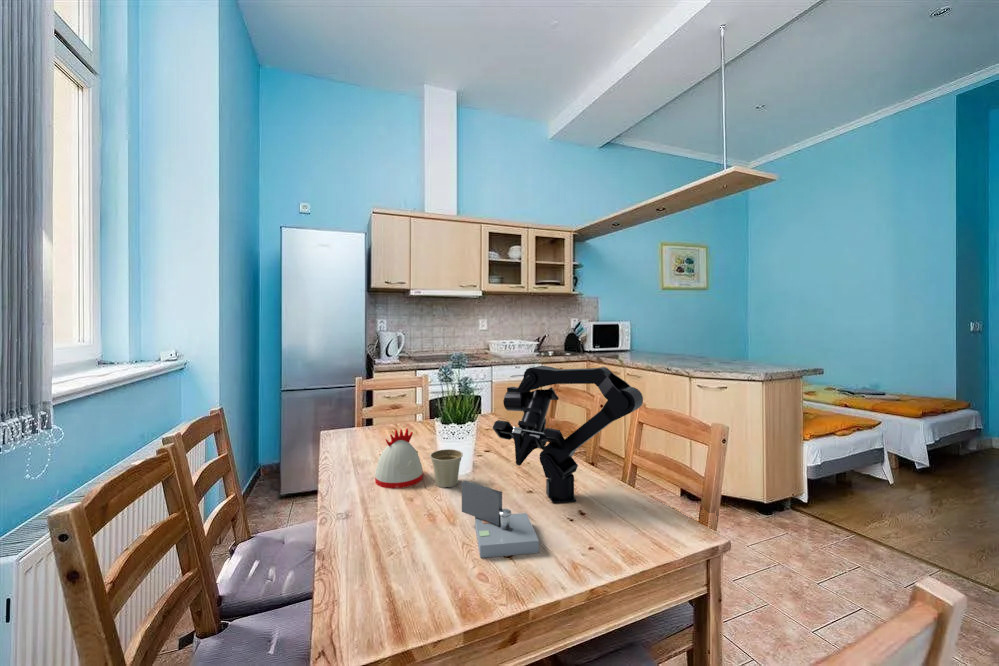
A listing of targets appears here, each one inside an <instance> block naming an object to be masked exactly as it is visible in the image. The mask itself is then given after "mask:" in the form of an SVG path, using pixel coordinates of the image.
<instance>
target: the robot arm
mask: <svg viewBox="0 0 999 666" xmlns="http://www.w3.org/2000/svg"><path fill="white" fill-rule="evenodd" d="M574 384H575V385H581V384H582V385H587V384H589V385H592V384H593V385H595V386H596V387H597V388H598V389H599V391H600V392H601V394H602V395H603V397H604V398H605V399H606V400H607V401H606V402H605V403H604V405H603V406H602V408H601V410H600V411H598V412H597V413H596V414H594V415H593V416H592V417H591V418H590V419H588V420H587V421H585V423H583V424H582V425H580V427H578V428H577V429H576V430H574V431H573V432H572V433H570V435H568V436H567V437H566V438H565V437H564V436H563V434H562V431H561V430H560V429H556V428H549V427H546V425H547V419H546V415H547V413H548V410H549V406H550V403H551V402H552V400H553V401H554V400H555V401H558V400H559V396H558V394H556V391H555V390H554V388H553V387H550V388H547V389H546V388H545V389H541V388H544V387H548V386H553V385H574ZM539 388H540V389H539ZM502 401H503V407H504V409H505V410H506V411H512V412H522V413H523V415H522V418H521V420H518V422H517V425H518V427H517V426H513V425H512V424H511V423H510V422H509V421H507V420H501V419H498V420H496V421H494V423H493V425H492V429H493V431H494V432H495V434H496V435H497V437H499V438H500V439H503V440H508V441H509V440H512V439H513V443H514V451H515V454H514V455H515V465H516V466H519V467H521V465H522V464H523V463H524V461H525V460H526V459H527V458H528V457H529V455H530V454H531V453H533V451H534V450H536V449H540V450H542V451H541V452H540V453H539V463H540V464H541V465H540V466H542V470H543V473H544V477H545V478H546V480H545V483H546V484H545V488H546V489H545V491H546V492H545V494H546V495H547V497H548V498H549V500H550V501H551V503H552V504H557V503H559V504H561V503H562V504H563V503H574V502H577V498H576V497H575V476H574V474H573V473H576V472H577V469H578V467H579V465H578V463H577V462H576V461H575V459H574V458H573V456H574V454H575V453H576V451H577V450H578V449H579V448H580V447H581V446H583V445H585V443H587V442H588V441H589V440H591V439H592V438H593V437H594V436H596V435H597V434H599V433H600V432H601V431H602V430H604V429H605V428H606V427H608V426H609V425H611V424H612V423H613V422H614V421H616V420H619V419H621V418H623V417H625V416H627V415H629V414H631V413H633V412H634V411H636V410H638V409H640V408H641V407H642V406H643V403H644V396H643V394H642V392H641V391H640V390H639V389H638V388H636V387H633V386H631V385H630V384H629V383H628V382H626V380H623V379H622V378H621V377H619V376H618V375H616V374H614V373H613V371H611V370H610V369H609V368H608V367H605V366H601V367H592V368H591V367H590V368H561V369H560V368H556V367H553V366H547V365H538V366H532V367H528V368H526V370H525V371H524V373H523V378H522V380H521V382H520V383H519V385H518V387H516V386H510V387H509V386H508V387H507V388H506V392H505V394H504V397H503V400H502ZM547 443H548V444H547ZM546 444H547V445H546Z"/></svg>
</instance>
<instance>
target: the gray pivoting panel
mask: <svg viewBox="0 0 999 666" xmlns="http://www.w3.org/2000/svg"><path fill="white" fill-rule="evenodd" d="M461 512H462V513H465V514H466V515H469V516H472V517H474V518H475V517H477V518H480V519H482V520H485V521H488V522H491V523H493V524H496V525H500V527H501V528H502V529H508V528H509V527H510V515H511V514H512V510H510V509H509V508H503V491H501V490H497V489H493V488H490V487H487V486H484V485H481V484H477V483H475V482H472V481H468V480H463V481H461Z"/></svg>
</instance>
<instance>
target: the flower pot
mask: <svg viewBox="0 0 999 666" xmlns="http://www.w3.org/2000/svg"><path fill="white" fill-rule="evenodd" d="M463 454H464V452H462V451H460V450H458V449H452V448H451V449H450V448H446V449H439V450H435V451H433V452H431V453H430V454H429V458H430V459H431V463H432V465H433V472H434V479H435V485H436V486H437V487H438V488H439V487H440V488H452V487H454V486H456V485H457V484H458V481H459V473H460V464H461V461H462V457H463Z"/></svg>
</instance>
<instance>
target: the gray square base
mask: <svg viewBox="0 0 999 666" xmlns="http://www.w3.org/2000/svg"><path fill="white" fill-rule="evenodd" d="M474 529H475V534H476V535H475V536H476V540H477V546H478V552H479V558H480V559H483V558H495V557H497V558H498V557H507V556H517V555H528V554H529V555H530V554H539V553H540V541H539V538H538V535H537V534H536V530H535V529H534V526H533V525H532V522H531V520H530V518H529V516H528V513H527V512H522V513H521V512H520V513H519V512H518V513H511V515H510V527H509V528H508V529H502V528H501V527H500V525H496V524H493V523H491V522H488V521H485V520H482V519H480V518H477V517H474Z"/></svg>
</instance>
